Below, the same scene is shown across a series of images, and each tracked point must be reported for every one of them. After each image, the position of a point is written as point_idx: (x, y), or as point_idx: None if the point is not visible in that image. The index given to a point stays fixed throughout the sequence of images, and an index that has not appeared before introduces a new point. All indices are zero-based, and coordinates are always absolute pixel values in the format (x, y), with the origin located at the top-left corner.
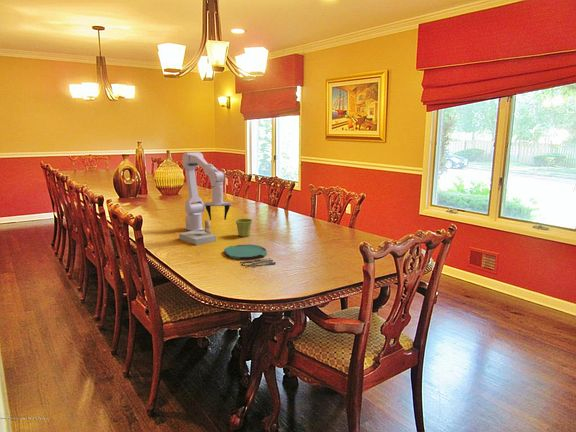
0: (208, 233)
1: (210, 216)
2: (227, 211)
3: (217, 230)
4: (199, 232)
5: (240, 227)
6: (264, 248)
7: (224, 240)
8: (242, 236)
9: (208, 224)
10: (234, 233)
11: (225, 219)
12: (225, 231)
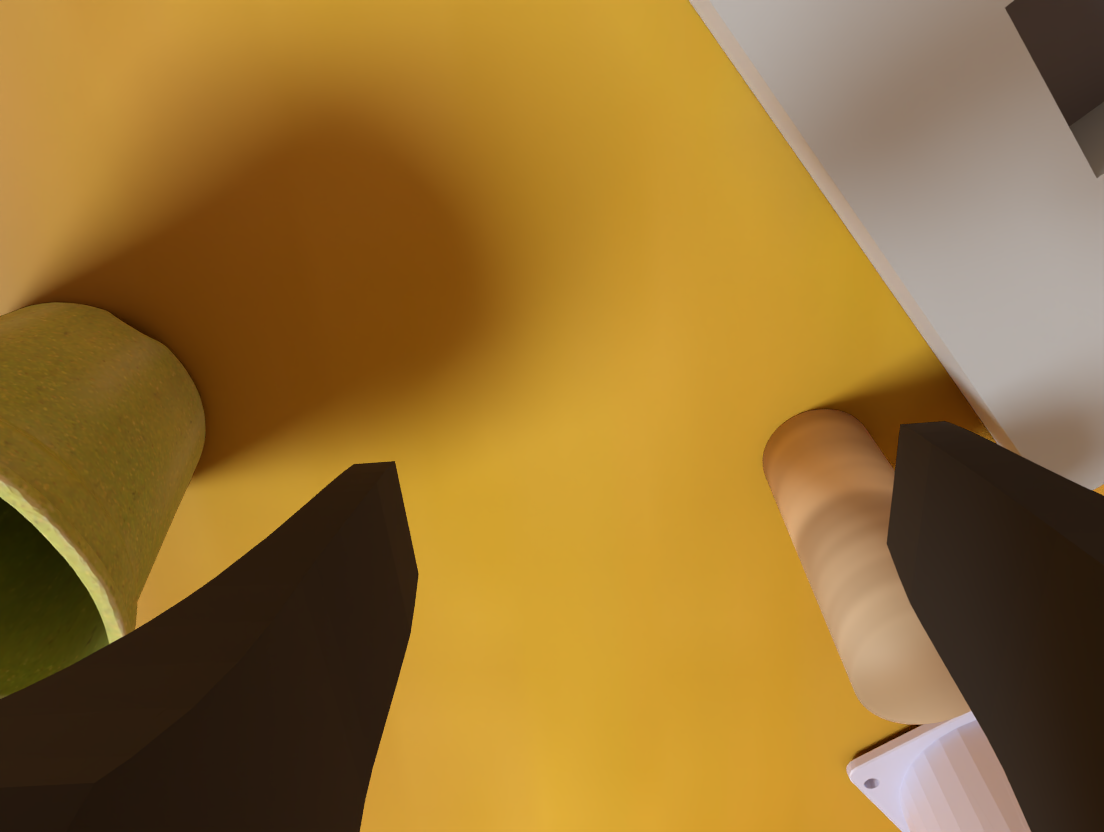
0: (860, 174)
1: (997, 474)
2: (90, 661)
3: (638, 722)
4: (1076, 285)
5: (7, 382)
6: None
7: (443, 3)
8: (91, 307)
9: (882, 555)
10: None
11: (352, 465)
12: (498, 668)
